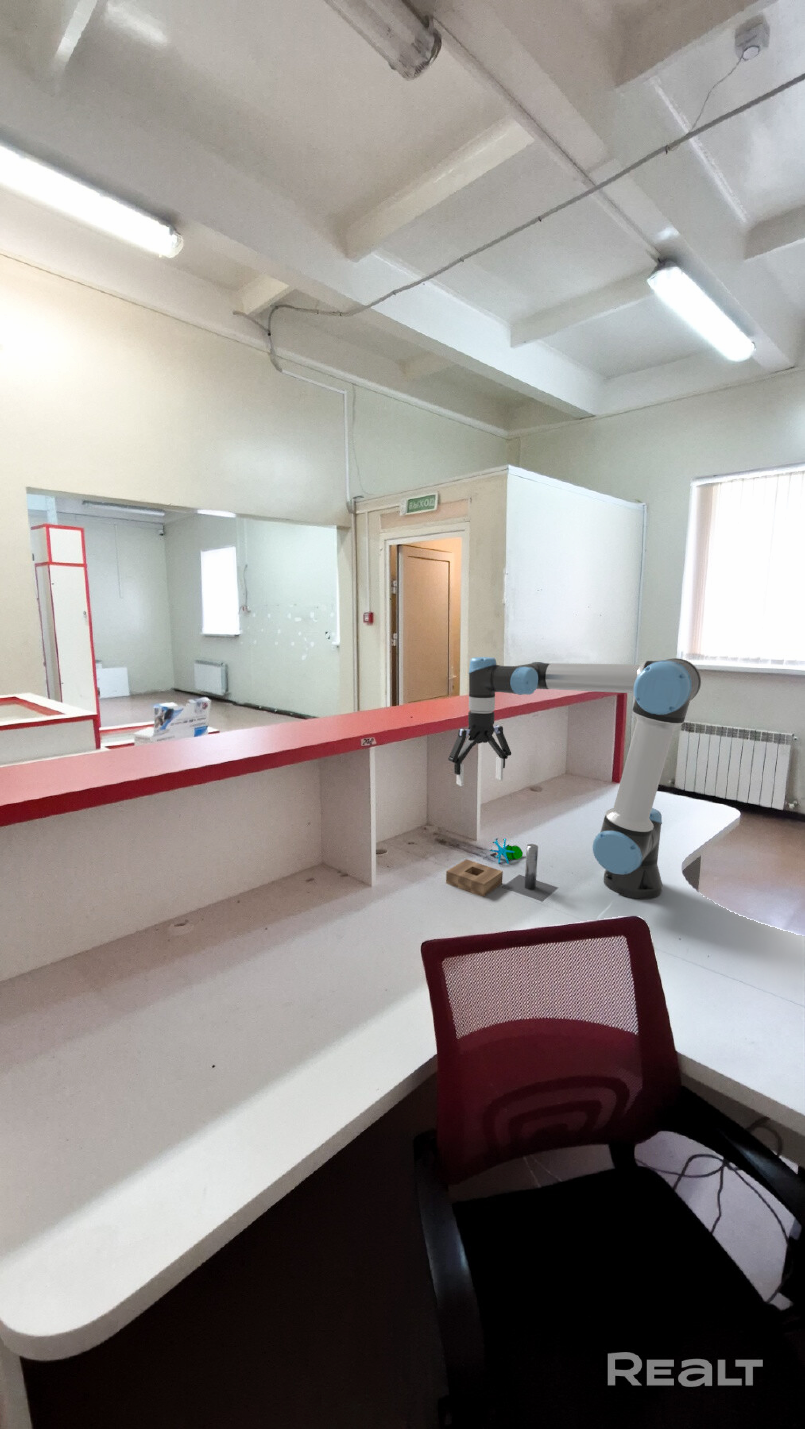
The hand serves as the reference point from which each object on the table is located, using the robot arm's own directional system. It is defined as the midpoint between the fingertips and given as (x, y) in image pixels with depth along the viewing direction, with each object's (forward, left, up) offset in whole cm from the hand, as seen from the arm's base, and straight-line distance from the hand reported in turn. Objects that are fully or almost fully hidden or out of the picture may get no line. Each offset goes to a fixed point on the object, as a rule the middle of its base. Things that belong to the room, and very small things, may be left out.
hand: (479, 782), depth 172 cm
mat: (-20, +5, -25) cm, 33 cm away
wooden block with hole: (-7, +13, -25) cm, 29 cm away
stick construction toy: (-5, -7, -26) cm, 27 cm away
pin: (-20, +5, -25) cm, 32 cm away
